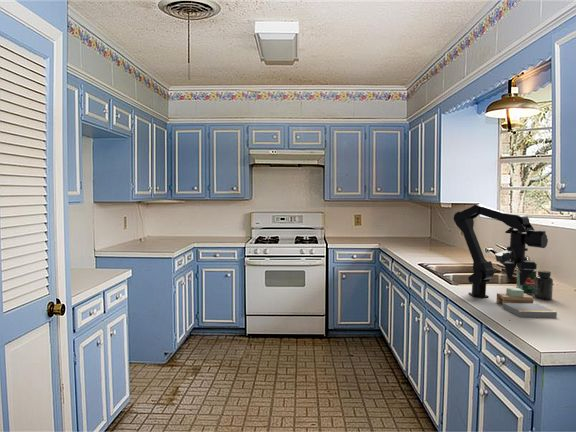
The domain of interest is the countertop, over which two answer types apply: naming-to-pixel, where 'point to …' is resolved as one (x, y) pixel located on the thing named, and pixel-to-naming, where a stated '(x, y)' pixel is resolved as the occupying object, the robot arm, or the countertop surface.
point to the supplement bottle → (544, 285)
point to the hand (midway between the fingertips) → (515, 282)
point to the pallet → (513, 298)
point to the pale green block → (515, 292)
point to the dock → (529, 310)
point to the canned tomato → (527, 283)
